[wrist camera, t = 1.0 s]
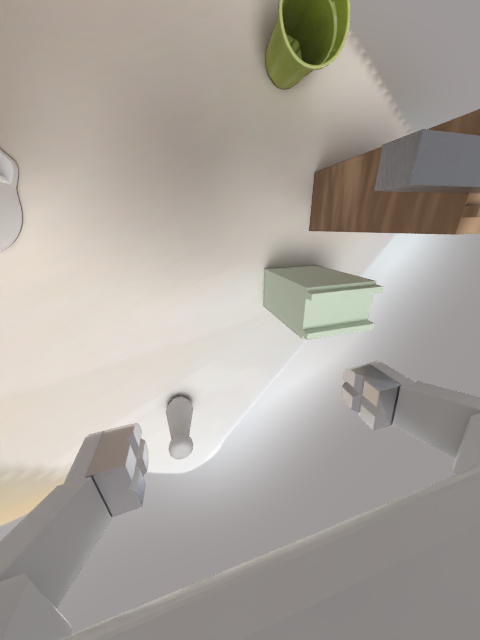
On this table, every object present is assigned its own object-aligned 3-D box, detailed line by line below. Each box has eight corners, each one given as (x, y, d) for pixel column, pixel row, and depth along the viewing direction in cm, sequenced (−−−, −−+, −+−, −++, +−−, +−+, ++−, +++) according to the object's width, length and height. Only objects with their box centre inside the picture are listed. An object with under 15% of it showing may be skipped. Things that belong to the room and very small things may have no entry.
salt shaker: (192, 391, 52) (198, 438, 40) (191, 410, 54) (197, 460, 42) (165, 394, 50) (163, 444, 38) (166, 414, 52) (165, 467, 40)
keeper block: (263, 306, 48) (306, 342, 33) (264, 269, 45) (312, 290, 30) (311, 300, 51) (372, 331, 36) (315, 265, 48) (384, 283, 33)
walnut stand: (309, 230, 45) (469, 234, 21) (314, 172, 41) (520, 93, 17) (365, 229, 48) (560, 231, 24) (376, 175, 44) (620, 112, 20)
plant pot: (250, 16, 31) (277, -54, 23) (310, 18, 33) (353, -46, 25) (257, 104, 35) (282, 68, 27) (311, 101, 37) (348, 68, 29)
